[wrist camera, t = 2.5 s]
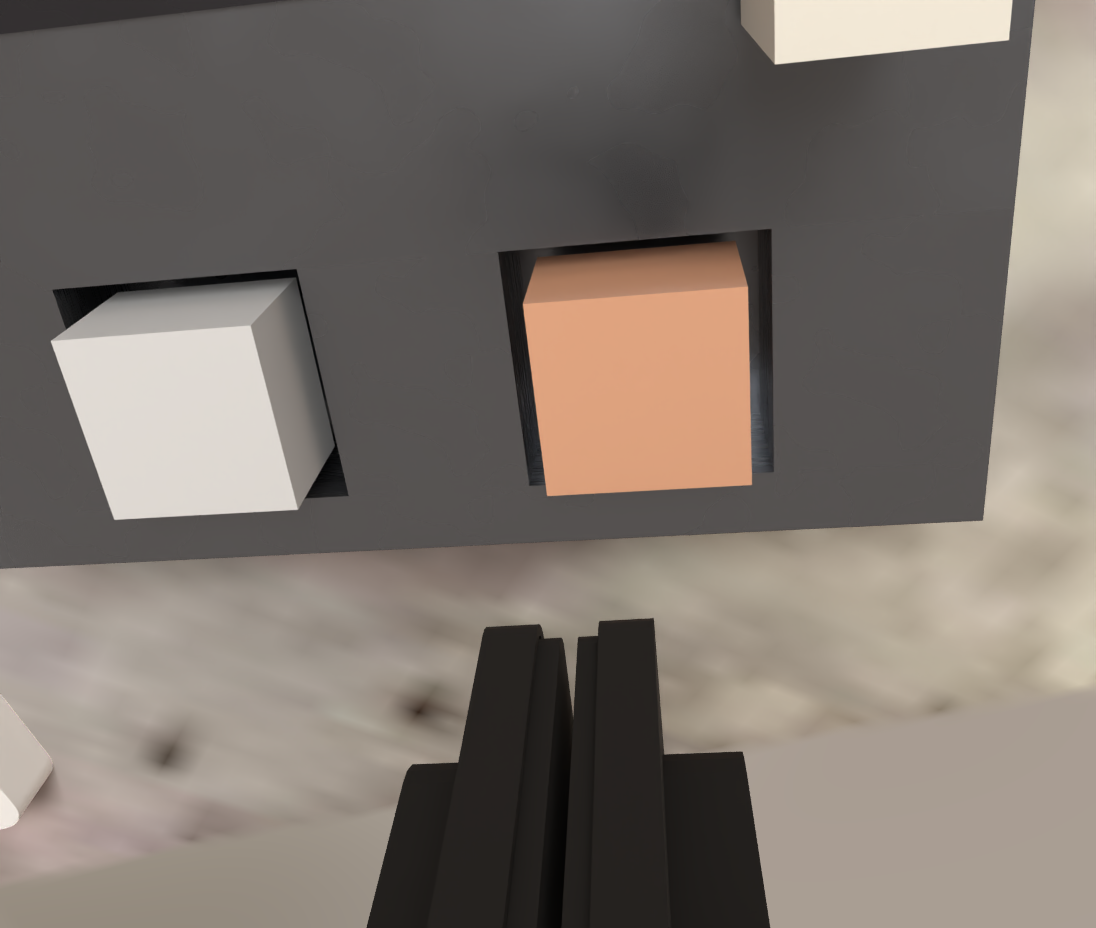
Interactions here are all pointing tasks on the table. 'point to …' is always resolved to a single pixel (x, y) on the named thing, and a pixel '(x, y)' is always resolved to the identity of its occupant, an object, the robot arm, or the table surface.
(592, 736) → the robot arm
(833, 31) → the cream tall block
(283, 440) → the grey key
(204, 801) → the table surface
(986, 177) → the control panel
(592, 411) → the terracotta key
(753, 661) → the table surface
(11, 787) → the cable organizer
